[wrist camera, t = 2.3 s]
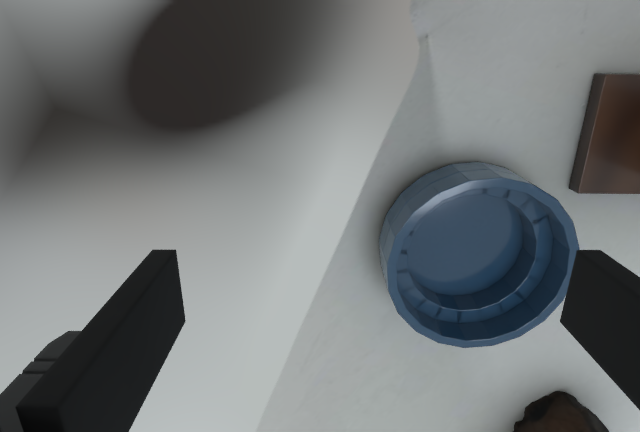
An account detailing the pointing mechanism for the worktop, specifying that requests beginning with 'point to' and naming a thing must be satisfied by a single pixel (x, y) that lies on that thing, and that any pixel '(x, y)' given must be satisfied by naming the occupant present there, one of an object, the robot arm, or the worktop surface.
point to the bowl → (476, 254)
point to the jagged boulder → (559, 416)
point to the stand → (610, 138)
